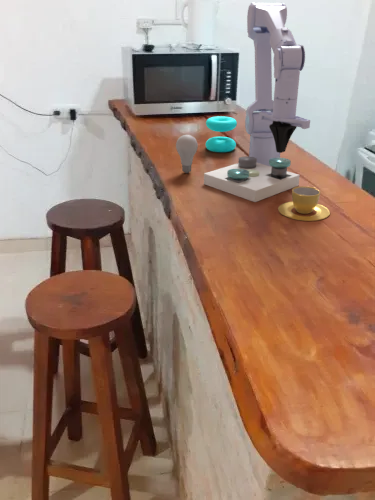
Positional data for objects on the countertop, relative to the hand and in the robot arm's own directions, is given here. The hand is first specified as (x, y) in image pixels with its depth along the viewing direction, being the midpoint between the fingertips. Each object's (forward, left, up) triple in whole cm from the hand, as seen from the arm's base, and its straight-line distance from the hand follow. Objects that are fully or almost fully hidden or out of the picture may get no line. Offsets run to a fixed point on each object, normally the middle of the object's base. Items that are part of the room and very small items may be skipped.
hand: (280, 151), depth 132 cm
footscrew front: (+10, -6, -10) cm, 15 cm away
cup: (+9, +15, -10) cm, 20 cm away
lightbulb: (+10, -25, -10) cm, 28 cm away
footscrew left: (0, 0, -7) cm, 7 cm away
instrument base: (+4, -6, -9) cm, 12 cm away
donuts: (-15, -35, -10) cm, 39 cm away
